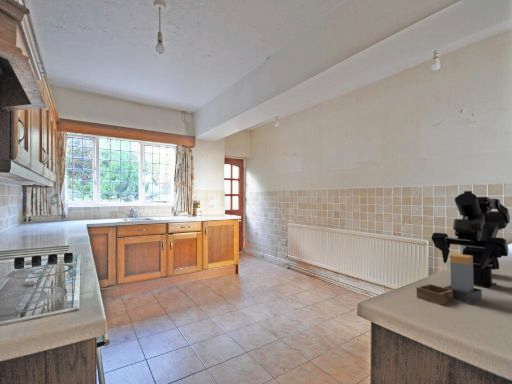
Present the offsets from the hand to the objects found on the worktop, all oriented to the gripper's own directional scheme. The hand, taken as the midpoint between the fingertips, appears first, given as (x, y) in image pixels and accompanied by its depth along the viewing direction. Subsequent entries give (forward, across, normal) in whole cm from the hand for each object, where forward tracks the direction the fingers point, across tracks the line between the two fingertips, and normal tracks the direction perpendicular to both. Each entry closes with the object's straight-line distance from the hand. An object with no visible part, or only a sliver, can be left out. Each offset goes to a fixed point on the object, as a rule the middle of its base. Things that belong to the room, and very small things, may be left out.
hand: (462, 265), depth 82 cm
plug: (+7, 0, +7) cm, 10 cm away
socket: (+7, 0, +7) cm, 10 cm away
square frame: (+12, -5, +2) cm, 13 cm away
